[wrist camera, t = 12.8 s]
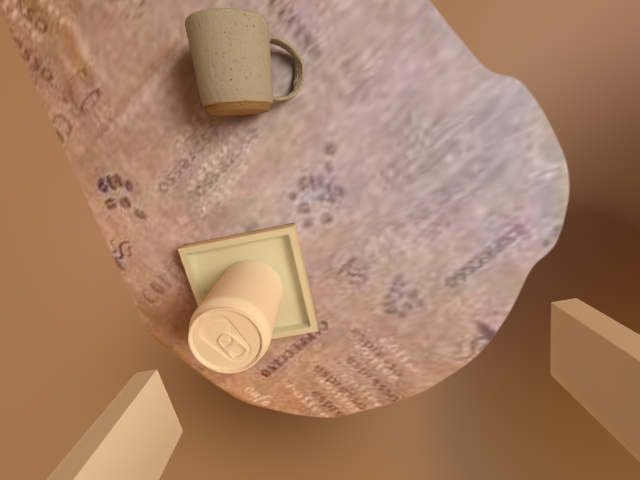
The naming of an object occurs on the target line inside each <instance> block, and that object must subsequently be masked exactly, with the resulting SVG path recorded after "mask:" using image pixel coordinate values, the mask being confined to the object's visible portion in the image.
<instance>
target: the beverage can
mask: <svg viewBox="0 0 640 480" xmlns="http://www.w3.org/2000/svg"><path fill="white" fill-rule="evenodd" d="M282 296H283V285H282V281H281V279H280V277H279V275H278V274H277V272H276V271H275V270H274V269H273V268H271V267H270V266H269V265H267V264H265V263H263V262H260V261H255V260H245V261H240V262H238V263H235V264H234V265H232V266H231V267H230V268H228V269H227V271H226V272H225V273H224V274H223V276H222V277H221V278H220V279H219V281H218V282H217V283H216V285H215V286H214V287H213V288H212V290H211V291H210V292H209V293H208V295H207V296H206V297H205V299H204V300H203V301H202V302H201V304H200V305H199V306H198V308H197V309H196V310H195V312H194V313H193V315H192V317H191V320H190V323H189V333H188V343H189V347H190V350H191V352H192V353H193V355H194V356H195V358H196V359H197V360H198V361H199V362H200V363H201V364H203V365H204V366H205V367H207V368H209V369H211V370H214V371H217V372H221V373H238V372H241V371H244V370H247V369H248V368H250V367H252V366H253V365H254V364H255V363H256V362H257V361H258V360H259V359H260V358H261V357H262V356H263V355H264V354H265V353H266V351H267V349H268V347H269V345H270V342H271V338H272V334H273V330H274V326H275V323H276V319H277V315H278V311H279V308H280V304H281V300H282Z"/></svg>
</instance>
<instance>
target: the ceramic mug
mask: <svg viewBox="0 0 640 480" xmlns="http://www.w3.org/2000/svg"><path fill="white" fill-rule="evenodd" d="M185 27H186V32H187V37H188V41H189V46H190V51H191V56H192V61H193V66H194V70H195V74H196V80H197V85H198V90H199V94H200V99H201V101H202V104H203V107H204V109H205V110H206V111H207V112H208V113H209V114H212V115H222V116H227V115H249V114H259V113H264V112H267V111H269V109H270V108H271V106H272V103H273V102H276V103H277V102H282V101H285V100H288V99H290V98H292V97H294V96H295V95H296V94H297V93H298V92H299V90H300V89H301V87H302V85H303V81H304V64H303V60H302V57H301V55H300V54H299V52H298V51H297V50H296V48H295V47H294V46H293V45H291V44H290V43H289V42H287V41H285V40H284V39H281V38H279V37H276V36H273V35H270V33H269V25H268V22H267V21H266V19H265V18H263V17H262V16H260V15H258V14H255V13H253V12H249V11H245V10H239V9H231V8H214V9H207V10H201V11H197V12H194V13H192V14H190V15H189V16H188V17H187V18H186V21H185ZM270 43H271V44H275V45H277V46H280V47H281V48H283V49H285V50H286V51H287V52H289V53H290V55H291V56H292V57H293V59H294V63H295V78H294V82H293V86H294V89H293V91H292V92H291V93H289V94H288V95H287V96H282V97H274V96H273V85H272V75H271V56H270Z"/></svg>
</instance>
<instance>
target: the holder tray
mask: <svg viewBox="0 0 640 480" xmlns="http://www.w3.org/2000/svg"><path fill="white" fill-rule="evenodd" d="M178 251H179V254H180V257H181V260H182V263H183V266H184V269H185V271H186V274H187V277H188V280H189V283H190V286H191V288H192V291H193V294H194V297H195V300H196V303H197V306H199V305H200V304H201V302H202V301H203V300H204V299H205V297H206V296H207V295H208V293H209V292H210V291H211V290H212V288H213V287H214V286H215V285H216V283H217V282H218V281H219V279H220V278H221V277H222V276H223V274H224V273H225V272H226V271H227V269H228V268H230V267H231V266H232V265H234V264H235V263H238V262H240V261H245V260H255V261H260V262H263V263H265V264H267V265H269V266H270V267H271V268H273V269H274V270H275V271H276V272H277V274H278V275H279V277H280V279H281V281H282V285H283V296H282V300H281V304H280V308H279V311H278V315H277V319H276V323H275V326H274V330H273V334H272V338H271V339H276V338H281V337H287V336H293V335H299V334H305V333H310V332H316V331H318V320H317V315H316V311H315V307H314V302H313V298H312V294H311V289H310V285H309V281H308V276H307V272H306V268H305V263H304V259H303V255H302V250H301V246H300V242H299V237H298V233H297V229H296V224H295V223H291V224H286V225H281V226H276V227H271V228H266V229H260V230H255V231H250V232H245V233H240V234H235V235H230V236H225V237H220V238H214V239H209V240H204V241H199V242H194V243H189V244H185V245H183V246H182V247H180V248H179V249H178Z"/></svg>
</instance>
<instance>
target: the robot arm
mask: <svg viewBox="0 0 640 480" xmlns="http://www.w3.org/2000/svg"><path fill="white" fill-rule="evenodd" d="M550 363H551V365H550V374H551V375H552V376H553V377H554V378H555V379H556V380H557V381H558V382H559V383H560V384H561V385H562V386H563V387H564V388H565V389H566V390H567V391H568V392H569V393H570V394H571V395H572V396H573V397H574V398H575V399H576V400H577V401H578V402H579V403H580V404H581V405H582V406H583V407H584V408H585V409H586V410H587V411H588V412H589V413H590V414H591V415H593V417H594V418H595V419H596V420H598V421H599V422H600V423H601V424H602V425H603V426H604V427H605V428H606V429H607V430H608V431H609V432H610V433H611V434H612V435H613V436H614V437H615V438H616V439H617V440H618V441H619V442H620V443H621V444H622V445H623V446H624V447H625V448H626V449H627V450H628V451H629V452H630V453H631V454H632V455H633V456H634V457H635V458H636V459H637V460H638V461H639V462H640V335H639V334H637V333H635V332H633V331H632V330H630V329H628V328H627V327H625V326H623V325H621V324H620V323H618V322H616V321H615V320H613V319H611V318H610V317H608V316H606V315H604V314H603V313H601V312H599V311H597V310H596V309H594V308H592V307H590V306H589V305H587V304H585V303H584V302H582V301H580V300H578V299H577V298H576V299H569V300H563V301H558V302H552V303H551V361H550ZM182 432H183V430H182V428H181V426H180V423H179V421H178V418H177V416H176V413H175V411H174V409H173V406H172V404H171V402H170V399H169V397H168V394H167V392H166V390H165V387H164V385H163V382H162V380H161V378H160V375H159V373H158V371H157V370H150V371H144V372H139V373H135V375H134V376H133V377H132V378H131V379H130V381H129V382H128V383H127V384H126V385H125V387H124V388H123V389H122V390H121V391H120V392H119V394H118V395H117V396H116V397H115V398H114V400H113V401H112V402H111V403H110V404H109V406H108V407H107V408H106V409H105V411H104V412H103V413H102V414H101V415H100V416H99V418H98V419H97V420H96V421H95V422H94V423H93V425H92V426H91V427H90V428H89V429H88V431H87V432H86V433H85V434H84V435H83V437H82V438H81V439H80V440H79V442H78V443H77V444H76V445H75V446H74V447H73V448H72V450H71V451H70V452H69V453H68V454H67V456H66V457H65V458H64V459H63V460H62V462H61V463H60V464H59V465H58V467H57V468H56V469H55V470H54V471H53V472H52V474H51V475H50V476H49V477H48V478H47V479H46V480H159V478H160V476H161V474H162V472H163V470H164V468H165V466H166V464H167V462H168V460H169V458H170V456H171V454H172V452H173V450H174V448H175V446H176V444H177V442H178V440H179V438H180V436H181V434H182Z"/></svg>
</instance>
